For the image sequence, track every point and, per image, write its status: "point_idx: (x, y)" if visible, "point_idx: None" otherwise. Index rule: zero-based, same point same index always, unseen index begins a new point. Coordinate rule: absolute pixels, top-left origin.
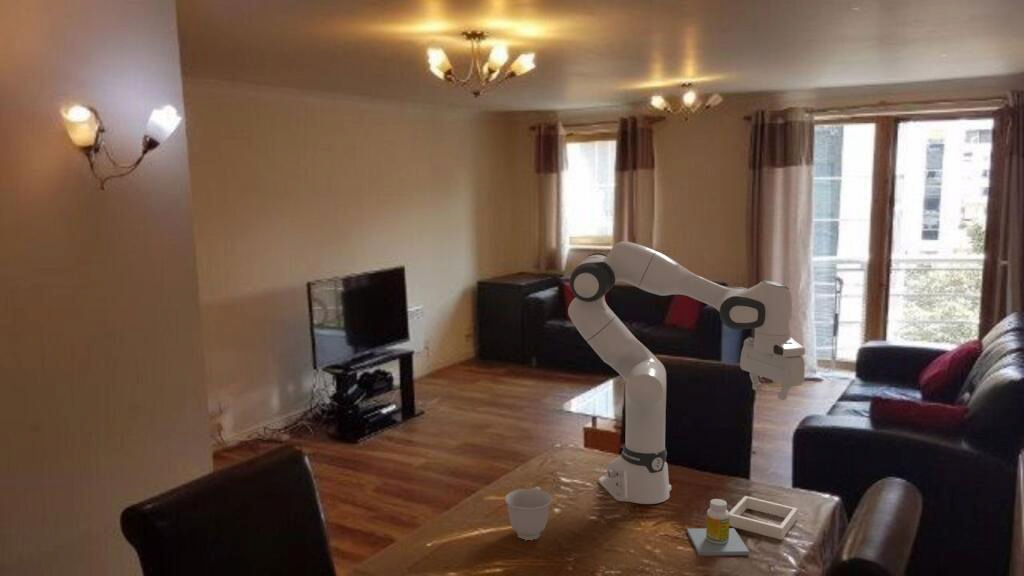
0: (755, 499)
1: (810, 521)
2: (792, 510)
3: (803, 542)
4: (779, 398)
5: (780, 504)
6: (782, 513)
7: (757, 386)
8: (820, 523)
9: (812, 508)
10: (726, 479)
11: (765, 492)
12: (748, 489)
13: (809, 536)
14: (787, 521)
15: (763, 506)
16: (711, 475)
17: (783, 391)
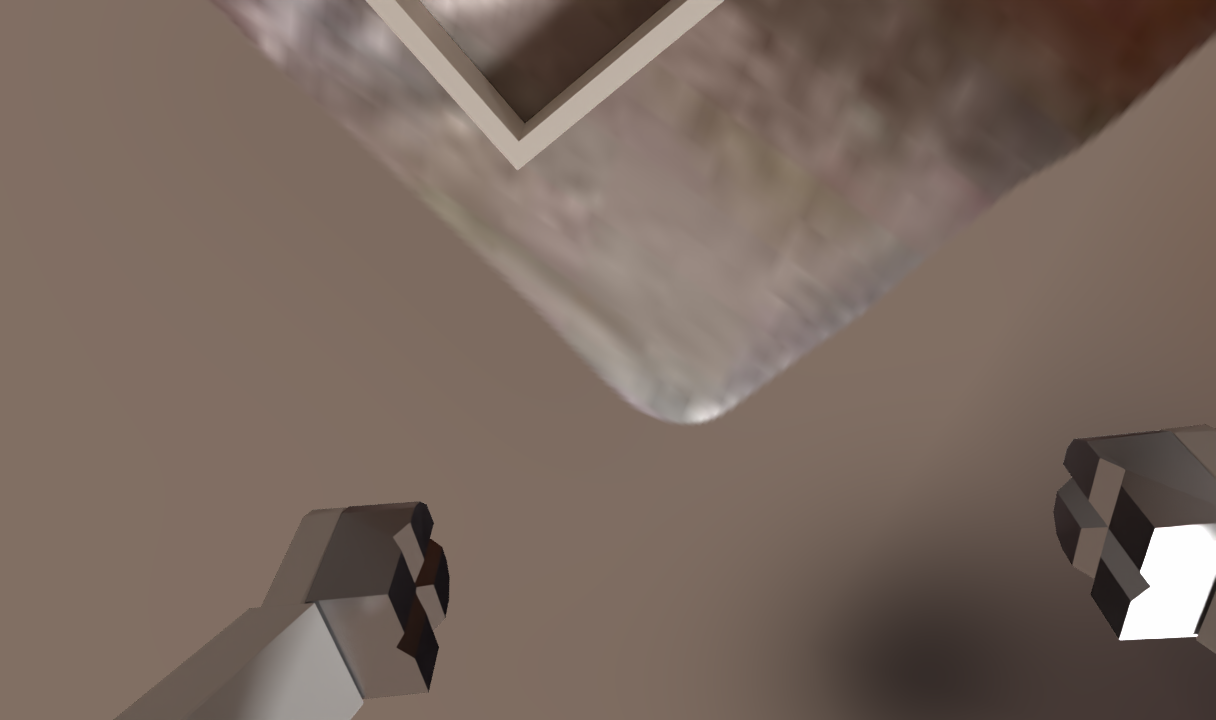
0: (691, 3)
1: (487, 197)
2: (501, 127)
3: (275, 13)
4: (369, 507)
5: (586, 110)
6: (562, 96)
7: (1114, 516)
8: (458, 228)
9: (610, 291)
10: (1106, 81)
11: (852, 190)
12: (927, 124)
13: (336, 88)
14: (374, 7)
15: (645, 28)
16: (1210, 22)
17: (193, 664)
